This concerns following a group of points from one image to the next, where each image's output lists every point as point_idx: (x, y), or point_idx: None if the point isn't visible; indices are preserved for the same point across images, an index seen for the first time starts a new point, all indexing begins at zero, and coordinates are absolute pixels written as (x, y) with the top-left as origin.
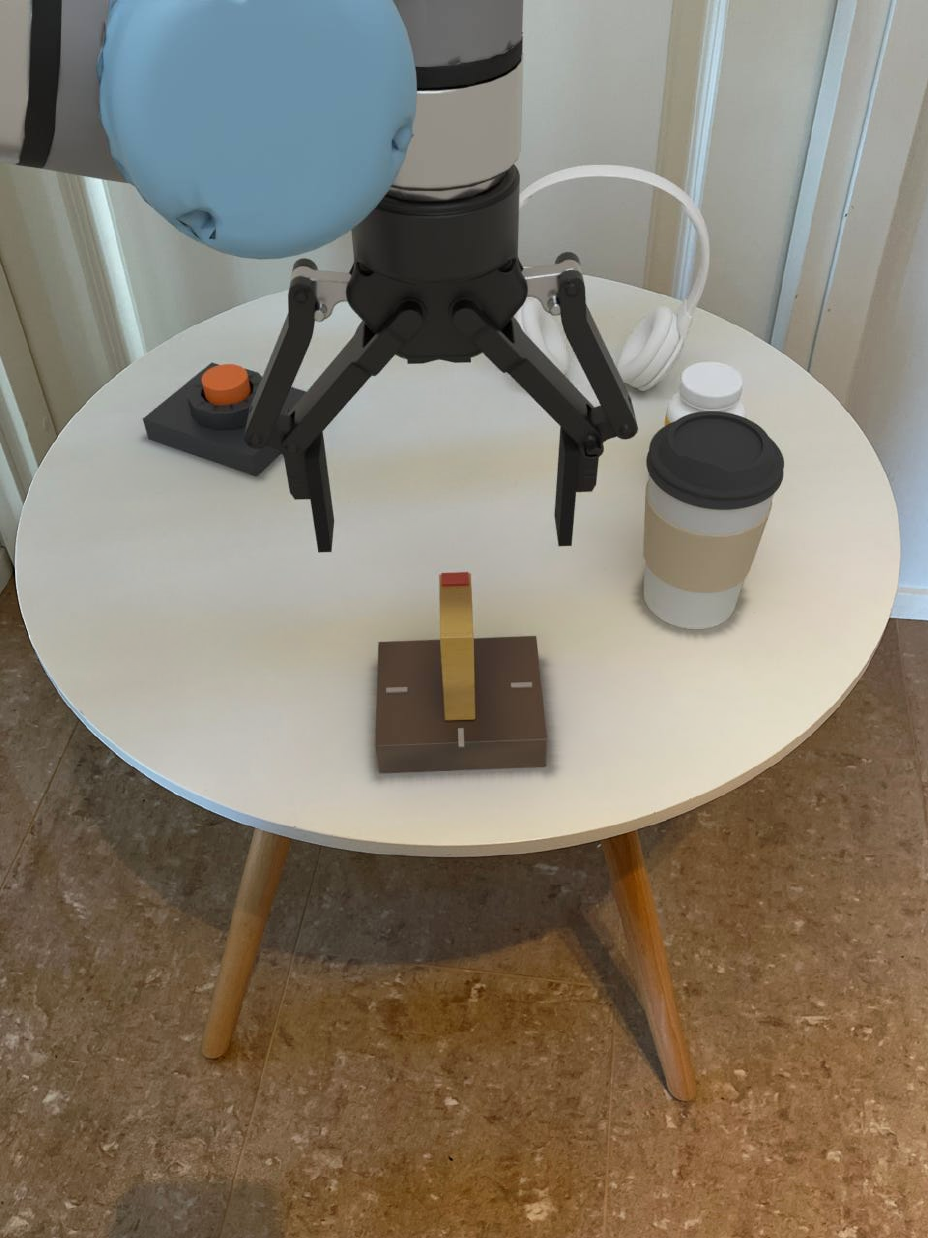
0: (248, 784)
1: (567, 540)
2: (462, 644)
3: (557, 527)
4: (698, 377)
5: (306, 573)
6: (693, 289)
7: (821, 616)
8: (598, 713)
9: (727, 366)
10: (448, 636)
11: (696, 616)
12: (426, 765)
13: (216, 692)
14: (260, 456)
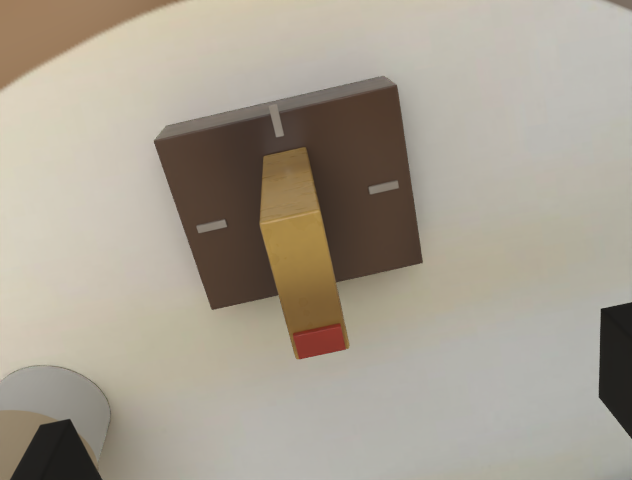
0: (555, 26)
1: (42, 435)
2: (279, 211)
3: (77, 465)
4: None
5: (525, 361)
6: None
7: None
8: (118, 222)
9: None
10: (304, 215)
11: (22, 381)
12: (322, 92)
13: (616, 167)
14: None
